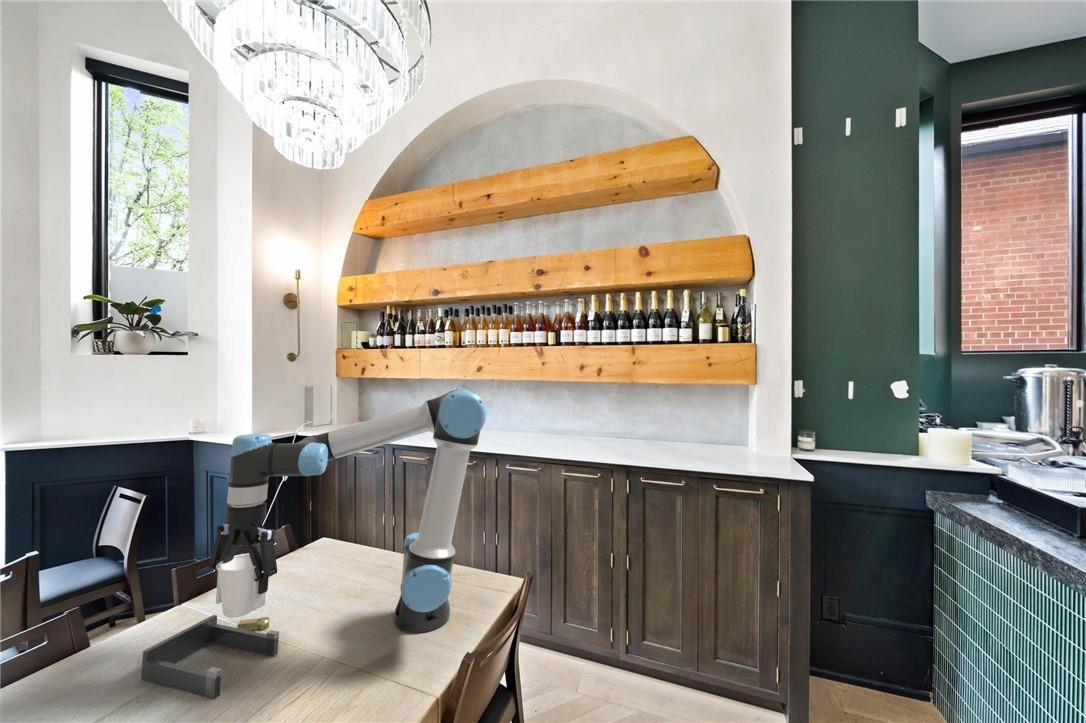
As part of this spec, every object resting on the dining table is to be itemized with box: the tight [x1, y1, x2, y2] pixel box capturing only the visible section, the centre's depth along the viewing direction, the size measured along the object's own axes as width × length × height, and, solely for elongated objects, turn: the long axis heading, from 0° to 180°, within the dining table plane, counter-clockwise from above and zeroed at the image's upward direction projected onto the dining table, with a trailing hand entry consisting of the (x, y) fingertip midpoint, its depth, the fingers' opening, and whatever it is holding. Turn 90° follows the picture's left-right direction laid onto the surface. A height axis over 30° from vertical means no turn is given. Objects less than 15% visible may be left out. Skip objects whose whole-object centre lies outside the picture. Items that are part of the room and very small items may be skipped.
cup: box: [216, 552, 263, 619], centre depth 97 cm, size 10×10×11 cm
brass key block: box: [236, 616, 270, 632], centre depth 112 cm, size 7×3×2 cm, turn 106°
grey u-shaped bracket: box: [140, 614, 280, 700], centre depth 97 cm, size 20×15×6 cm
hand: (240, 604), depth 96 cm, fingers closed on cup, 9 cm apart
